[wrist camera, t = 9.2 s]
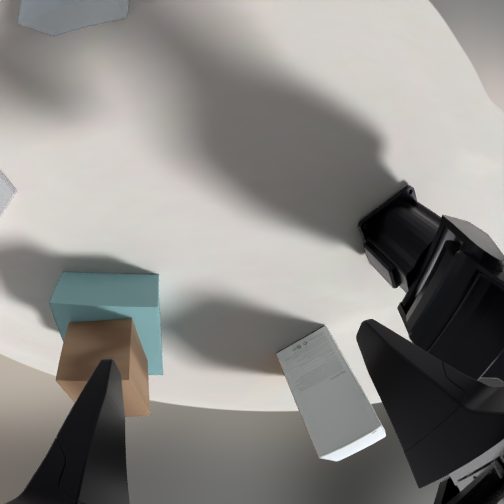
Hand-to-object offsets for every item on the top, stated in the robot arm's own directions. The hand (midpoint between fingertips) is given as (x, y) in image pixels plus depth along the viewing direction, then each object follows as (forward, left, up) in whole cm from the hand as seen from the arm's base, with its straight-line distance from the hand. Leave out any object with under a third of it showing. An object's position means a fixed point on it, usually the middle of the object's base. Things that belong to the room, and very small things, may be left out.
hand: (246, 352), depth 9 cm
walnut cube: (+12, +2, -8) cm, 14 cm away
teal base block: (+12, +2, -12) cm, 17 cm away
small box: (+2, +22, -12) cm, 25 cm away
